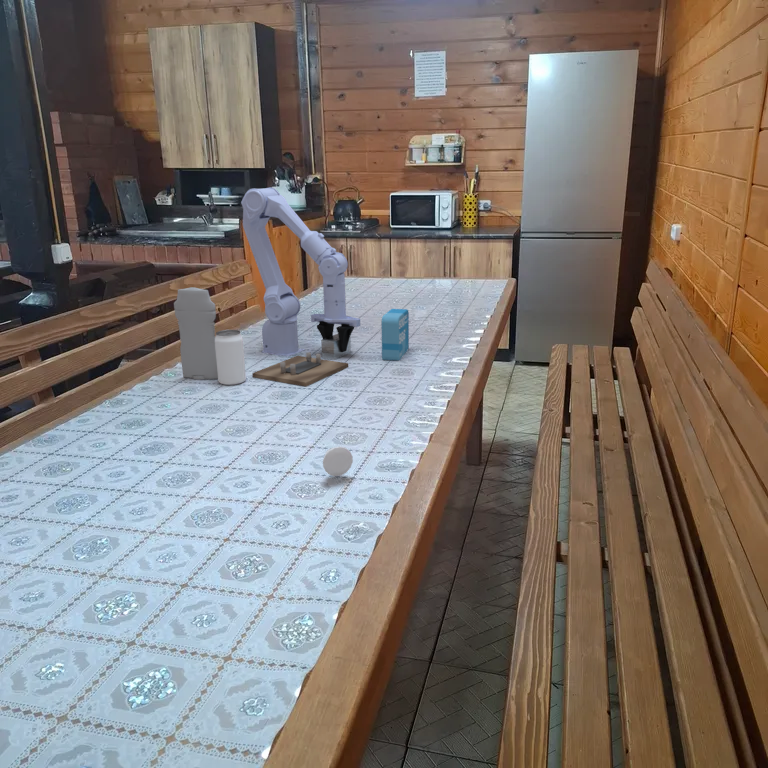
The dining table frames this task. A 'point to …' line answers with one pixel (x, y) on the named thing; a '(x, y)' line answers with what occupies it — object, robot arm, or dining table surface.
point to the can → (230, 357)
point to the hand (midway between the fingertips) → (336, 350)
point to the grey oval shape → (337, 461)
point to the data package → (395, 334)
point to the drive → (333, 347)
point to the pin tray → (301, 370)
